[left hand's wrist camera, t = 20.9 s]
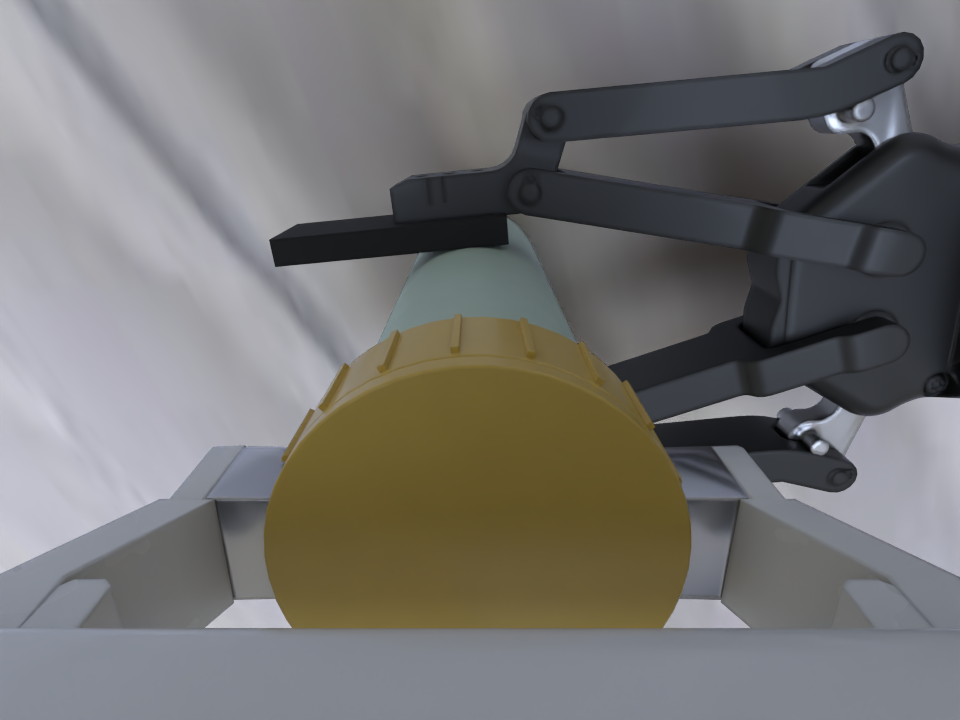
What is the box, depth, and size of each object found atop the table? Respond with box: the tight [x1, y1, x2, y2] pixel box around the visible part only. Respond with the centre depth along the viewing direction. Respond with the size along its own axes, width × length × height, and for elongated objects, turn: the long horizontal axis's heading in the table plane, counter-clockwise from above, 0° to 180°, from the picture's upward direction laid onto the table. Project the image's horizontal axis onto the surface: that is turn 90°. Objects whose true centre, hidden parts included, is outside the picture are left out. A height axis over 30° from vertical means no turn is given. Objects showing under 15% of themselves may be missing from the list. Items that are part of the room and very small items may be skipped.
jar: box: [378, 218, 577, 344], centre depth 17 cm, size 5×5×17 cm
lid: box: [264, 314, 692, 628], centre depth 9 cm, size 6×6×2 cm
